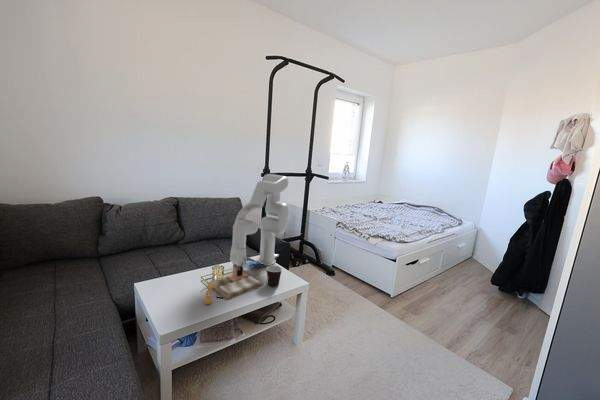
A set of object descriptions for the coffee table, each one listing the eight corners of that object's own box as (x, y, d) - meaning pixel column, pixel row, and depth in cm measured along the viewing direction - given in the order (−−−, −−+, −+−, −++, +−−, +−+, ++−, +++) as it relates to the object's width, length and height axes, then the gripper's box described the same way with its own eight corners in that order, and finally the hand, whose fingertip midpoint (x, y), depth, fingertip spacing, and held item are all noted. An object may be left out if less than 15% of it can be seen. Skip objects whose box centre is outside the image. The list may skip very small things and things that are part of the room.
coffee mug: (279, 289, 156) (281, 272, 154) (264, 287, 156) (265, 271, 154) (281, 279, 167) (282, 263, 165) (267, 277, 167) (268, 262, 165)
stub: (241, 272, 167) (241, 261, 166) (248, 276, 163) (248, 265, 161) (226, 277, 160) (227, 266, 159) (233, 282, 156) (234, 270, 154)
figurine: (215, 299, 140) (216, 278, 138) (218, 306, 135) (219, 283, 133) (198, 303, 136) (198, 280, 134) (200, 309, 131) (200, 286, 129)
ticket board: (244, 273, 170) (244, 269, 170) (263, 285, 158) (263, 281, 158) (208, 285, 153) (208, 281, 152) (226, 300, 141) (226, 295, 140)
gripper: (225, 241, 160) (224, 271, 164) (242, 250, 149) (240, 281, 153) (236, 239, 166) (235, 267, 169) (253, 247, 155) (251, 277, 159)
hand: (237, 274), depth 161 cm, fingers closed on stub, 3 cm apart
